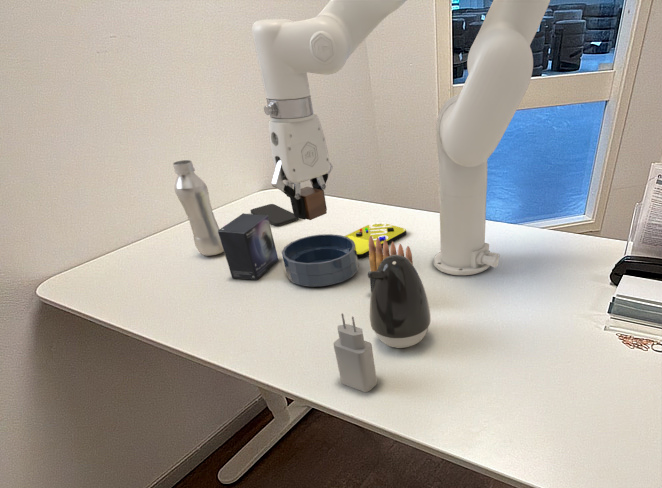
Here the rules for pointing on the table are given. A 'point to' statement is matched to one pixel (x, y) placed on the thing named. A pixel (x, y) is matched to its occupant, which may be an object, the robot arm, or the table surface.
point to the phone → (275, 214)
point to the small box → (248, 246)
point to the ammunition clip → (383, 254)
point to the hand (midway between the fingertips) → (310, 213)
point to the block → (313, 202)
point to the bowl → (320, 260)
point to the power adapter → (354, 358)
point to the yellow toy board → (375, 236)
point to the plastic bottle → (197, 208)
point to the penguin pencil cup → (398, 303)
